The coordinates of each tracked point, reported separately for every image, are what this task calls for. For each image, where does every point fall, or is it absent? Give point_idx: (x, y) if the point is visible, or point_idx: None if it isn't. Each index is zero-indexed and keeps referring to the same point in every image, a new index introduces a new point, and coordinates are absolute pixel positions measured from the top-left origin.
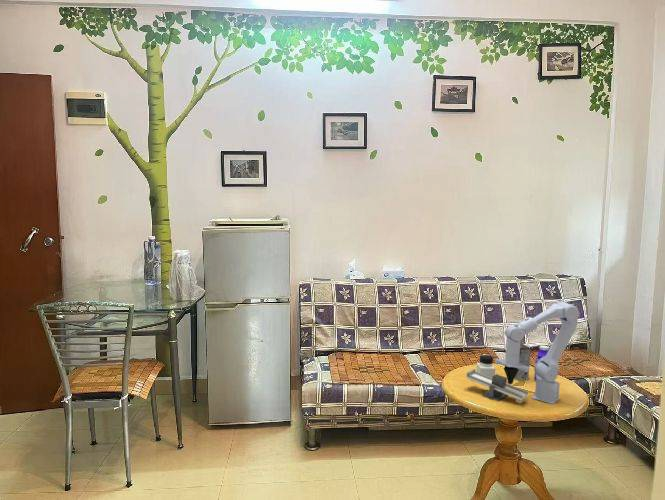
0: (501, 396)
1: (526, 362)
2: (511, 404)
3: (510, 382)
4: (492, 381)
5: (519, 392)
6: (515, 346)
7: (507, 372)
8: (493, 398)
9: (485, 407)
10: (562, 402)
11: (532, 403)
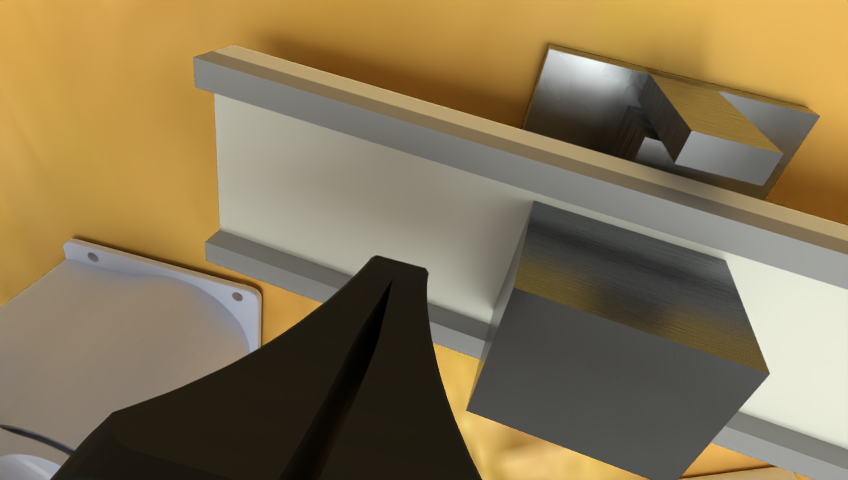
0: None
1: None
2: (383, 21)
3: (374, 269)
4: (728, 294)
5: (299, 226)
6: None
7: (390, 437)
8: (638, 69)
9: None
10: None
11: (209, 178)
